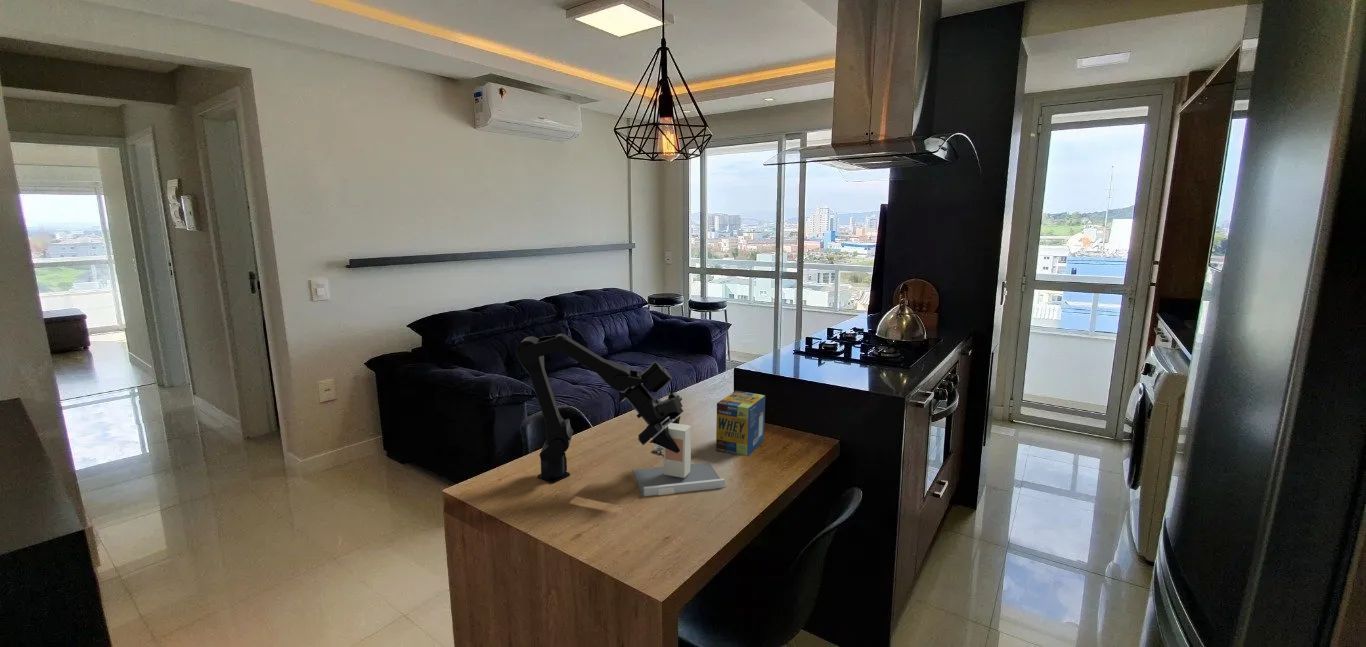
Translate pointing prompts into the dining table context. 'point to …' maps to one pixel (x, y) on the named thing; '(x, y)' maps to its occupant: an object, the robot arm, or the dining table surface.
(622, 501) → the dining table surface
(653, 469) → the shelf board
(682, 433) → the tea box
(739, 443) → the protein box
